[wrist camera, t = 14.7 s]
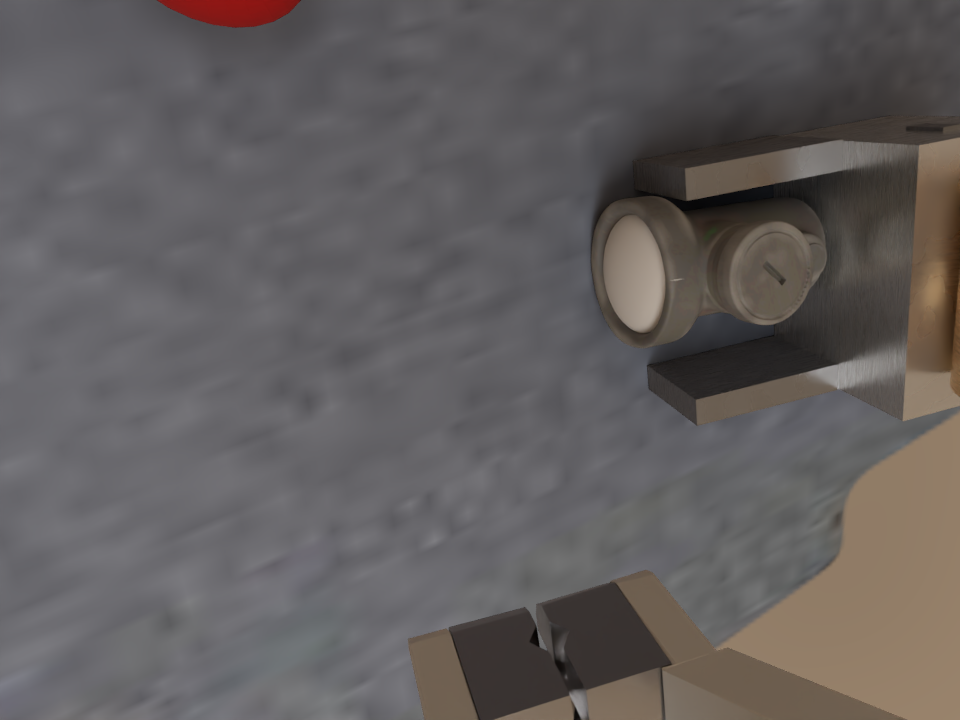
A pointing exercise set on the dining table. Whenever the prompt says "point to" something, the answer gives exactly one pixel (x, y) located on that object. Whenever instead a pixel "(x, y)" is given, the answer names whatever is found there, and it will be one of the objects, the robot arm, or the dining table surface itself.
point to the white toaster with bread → (839, 269)
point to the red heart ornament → (232, 11)
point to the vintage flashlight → (702, 264)
